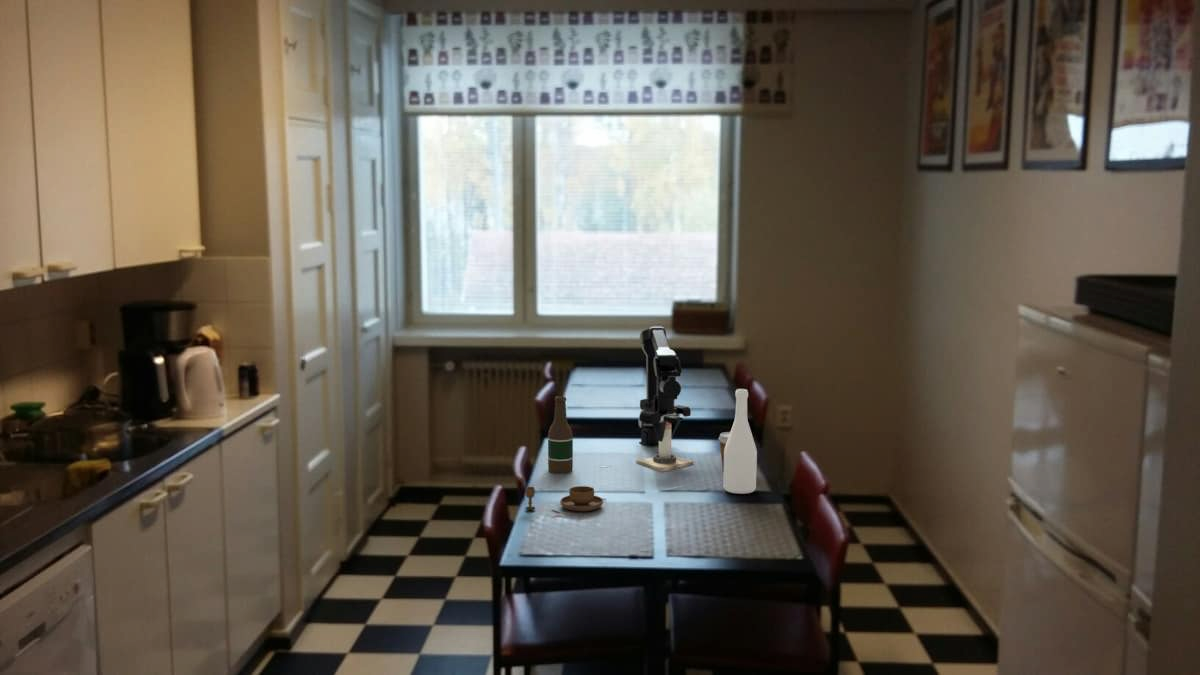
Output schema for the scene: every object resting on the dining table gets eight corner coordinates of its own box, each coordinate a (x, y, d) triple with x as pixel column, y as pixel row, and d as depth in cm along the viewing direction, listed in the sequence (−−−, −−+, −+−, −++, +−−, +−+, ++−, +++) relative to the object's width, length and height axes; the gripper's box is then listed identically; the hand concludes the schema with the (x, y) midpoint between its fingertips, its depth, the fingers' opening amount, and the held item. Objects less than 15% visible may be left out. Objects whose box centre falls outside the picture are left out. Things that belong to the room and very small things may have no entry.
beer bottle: (574, 469, 320) (574, 394, 317) (571, 475, 312) (571, 399, 309) (549, 468, 320) (549, 394, 318) (546, 474, 313) (546, 398, 310)
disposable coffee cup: (712, 470, 319) (712, 433, 318) (737, 467, 323) (738, 430, 322) (728, 477, 311) (728, 439, 309) (754, 474, 315) (755, 436, 313)
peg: (664, 458, 328) (664, 421, 326) (673, 460, 325) (674, 423, 323) (656, 460, 325) (656, 423, 323) (665, 462, 322) (665, 425, 321)
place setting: (591, 517, 271) (591, 496, 270) (522, 510, 278) (522, 489, 277) (611, 500, 288) (611, 480, 287) (546, 493, 294) (546, 473, 293)
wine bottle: (724, 494, 292) (727, 392, 288) (721, 485, 302) (723, 386, 298) (757, 494, 292) (760, 392, 288) (753, 485, 301) (756, 387, 298)
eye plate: (668, 458, 334) (669, 449, 334) (693, 466, 324) (693, 456, 324) (636, 464, 326) (636, 455, 325) (660, 472, 316) (660, 463, 316)
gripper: (666, 386, 334) (666, 432, 336) (627, 392, 321) (626, 440, 323) (692, 390, 326) (691, 437, 328) (652, 397, 313) (652, 446, 315)
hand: (665, 440), depth 324 cm, fingers closed on peg, 4 cm apart
